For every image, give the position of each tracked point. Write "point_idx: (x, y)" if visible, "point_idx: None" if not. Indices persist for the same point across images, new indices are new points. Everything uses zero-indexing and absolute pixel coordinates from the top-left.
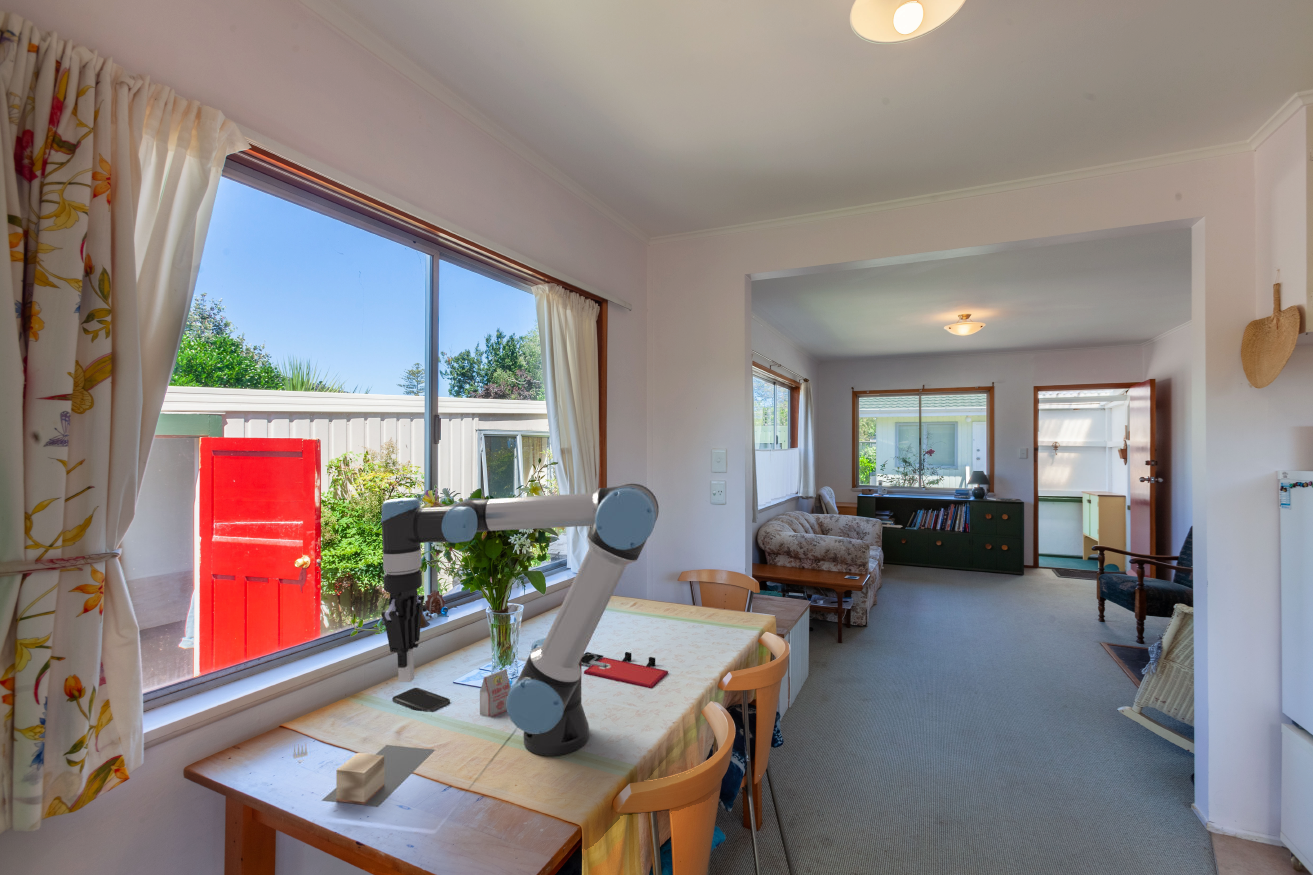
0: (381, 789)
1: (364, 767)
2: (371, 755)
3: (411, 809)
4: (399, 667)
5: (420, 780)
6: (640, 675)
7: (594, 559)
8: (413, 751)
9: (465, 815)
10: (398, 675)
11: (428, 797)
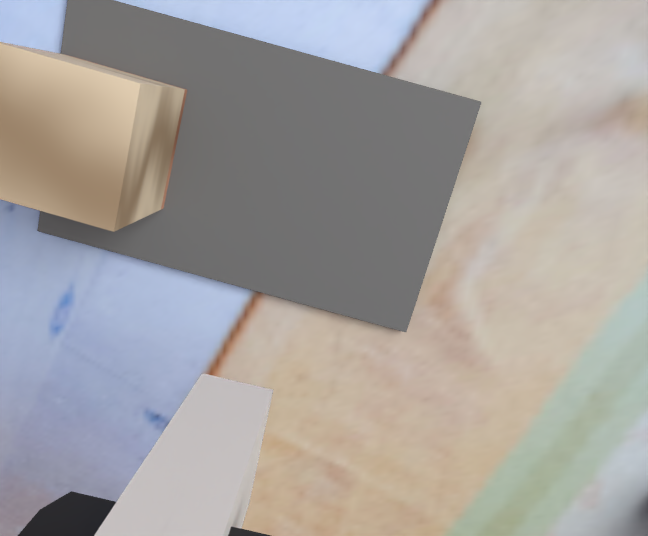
0: None
1: (15, 173)
2: (114, 167)
3: (50, 339)
4: (65, 506)
5: (211, 323)
6: None
7: None
8: (402, 246)
9: (28, 499)
10: (183, 402)
11: (112, 375)
